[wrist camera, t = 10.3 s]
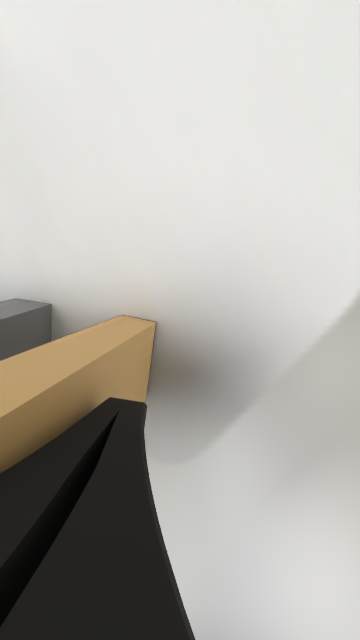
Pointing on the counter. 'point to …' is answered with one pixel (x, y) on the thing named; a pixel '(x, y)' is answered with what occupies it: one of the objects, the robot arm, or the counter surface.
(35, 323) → the slate domino
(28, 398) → the ochre domino
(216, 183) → the counter surface
